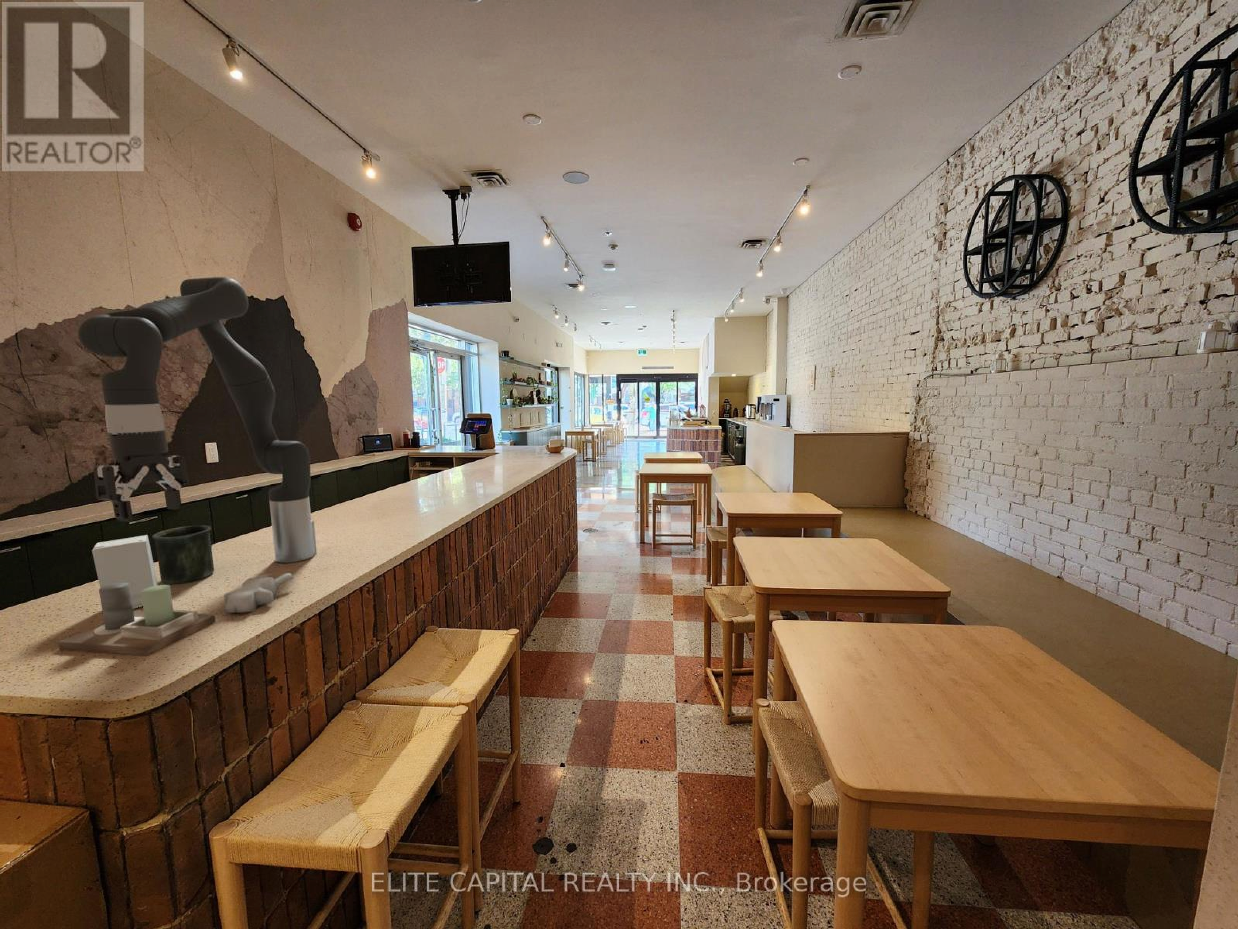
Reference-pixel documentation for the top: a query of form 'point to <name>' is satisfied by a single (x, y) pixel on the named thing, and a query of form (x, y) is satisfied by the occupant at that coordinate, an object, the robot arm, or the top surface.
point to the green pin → (157, 605)
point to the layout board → (132, 627)
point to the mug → (184, 554)
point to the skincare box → (126, 565)
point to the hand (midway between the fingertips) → (150, 514)
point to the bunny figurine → (254, 593)
